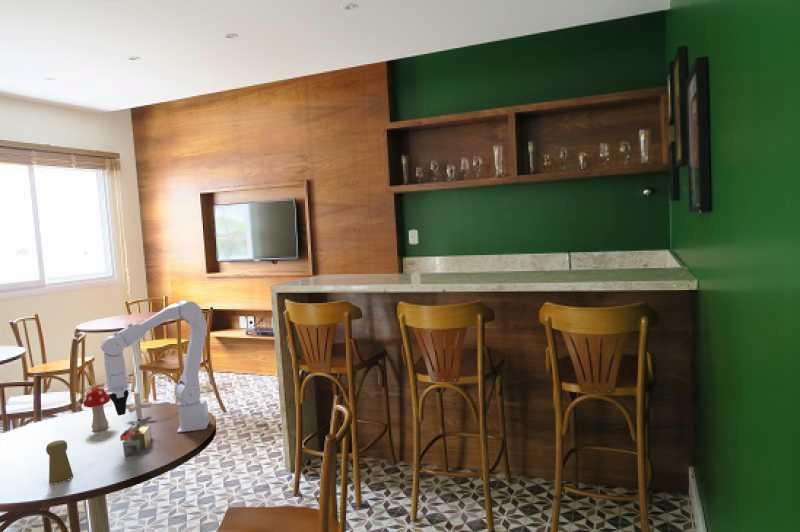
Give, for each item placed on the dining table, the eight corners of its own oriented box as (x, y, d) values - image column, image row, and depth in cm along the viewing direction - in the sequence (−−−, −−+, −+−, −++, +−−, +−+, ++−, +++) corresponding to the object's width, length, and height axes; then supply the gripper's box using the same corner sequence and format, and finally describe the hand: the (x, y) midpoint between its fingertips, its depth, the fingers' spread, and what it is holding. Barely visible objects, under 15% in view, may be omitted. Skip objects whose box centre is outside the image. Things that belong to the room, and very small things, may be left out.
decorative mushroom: (112, 429, 202) (107, 388, 200) (85, 435, 198) (79, 393, 197) (114, 421, 211) (109, 381, 209) (88, 426, 207) (83, 386, 206)
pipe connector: (159, 413, 216) (156, 387, 215) (145, 423, 206) (141, 396, 205) (134, 414, 217) (131, 389, 216) (119, 424, 207) (115, 397, 206)
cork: (55, 475, 165) (50, 439, 165) (77, 473, 166) (72, 436, 165) (44, 485, 159) (39, 447, 159) (66, 482, 160) (61, 444, 159)
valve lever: (133, 426, 183) (132, 422, 183) (141, 425, 184) (141, 421, 184) (119, 440, 171) (119, 436, 171) (128, 439, 172) (128, 435, 171)
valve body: (154, 437, 190) (152, 419, 190) (142, 454, 176) (139, 434, 176) (135, 440, 189) (133, 421, 189) (121, 456, 176) (119, 437, 175)
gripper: (100, 371, 187) (106, 411, 189) (103, 380, 175) (109, 423, 176) (124, 367, 191) (129, 406, 192) (128, 375, 178) (134, 417, 180)
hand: (121, 414), depth 184 cm, fingers closed
